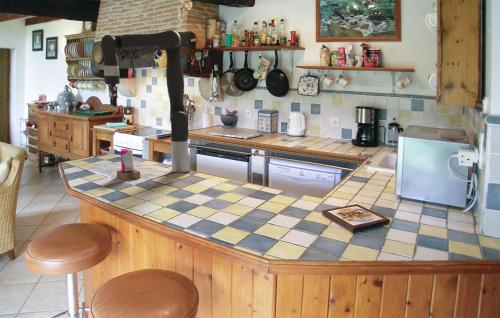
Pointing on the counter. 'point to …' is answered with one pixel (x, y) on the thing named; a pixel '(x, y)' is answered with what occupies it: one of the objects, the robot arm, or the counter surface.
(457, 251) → the counter surface
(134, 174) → the brown cardboard box
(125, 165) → the supplement box
